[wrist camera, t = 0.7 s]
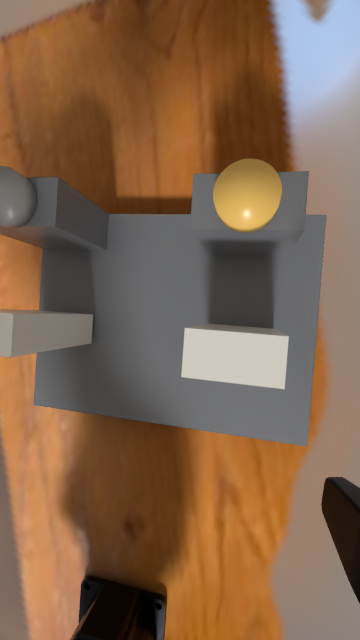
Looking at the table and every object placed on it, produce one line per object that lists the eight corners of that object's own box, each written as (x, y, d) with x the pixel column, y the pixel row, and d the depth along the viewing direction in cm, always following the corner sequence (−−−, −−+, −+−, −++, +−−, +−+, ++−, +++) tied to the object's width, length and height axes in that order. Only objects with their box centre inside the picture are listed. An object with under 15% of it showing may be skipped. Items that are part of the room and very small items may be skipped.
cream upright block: (91, 343, 22) (10, 357, 15) (40, 338, 23) (-61, 348, 16) (93, 314, 22) (13, 313, 15) (41, 310, 23) (-59, 307, 15)
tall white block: (271, 361, 20) (284, 389, 12) (206, 354, 20) (181, 377, 13) (274, 328, 19) (288, 336, 12) (208, 323, 20) (184, 327, 13)
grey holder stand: (303, 437, 21) (337, 516, 13) (46, 399, 25) (-55, 441, 17) (321, 219, 21) (369, 154, 12) (57, 217, 25) (-41, 167, 16)
